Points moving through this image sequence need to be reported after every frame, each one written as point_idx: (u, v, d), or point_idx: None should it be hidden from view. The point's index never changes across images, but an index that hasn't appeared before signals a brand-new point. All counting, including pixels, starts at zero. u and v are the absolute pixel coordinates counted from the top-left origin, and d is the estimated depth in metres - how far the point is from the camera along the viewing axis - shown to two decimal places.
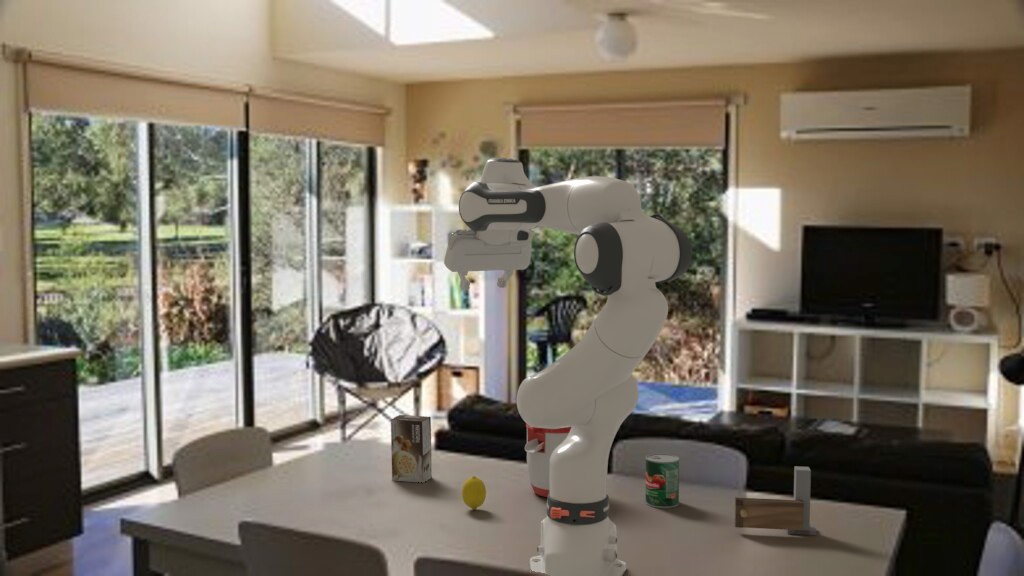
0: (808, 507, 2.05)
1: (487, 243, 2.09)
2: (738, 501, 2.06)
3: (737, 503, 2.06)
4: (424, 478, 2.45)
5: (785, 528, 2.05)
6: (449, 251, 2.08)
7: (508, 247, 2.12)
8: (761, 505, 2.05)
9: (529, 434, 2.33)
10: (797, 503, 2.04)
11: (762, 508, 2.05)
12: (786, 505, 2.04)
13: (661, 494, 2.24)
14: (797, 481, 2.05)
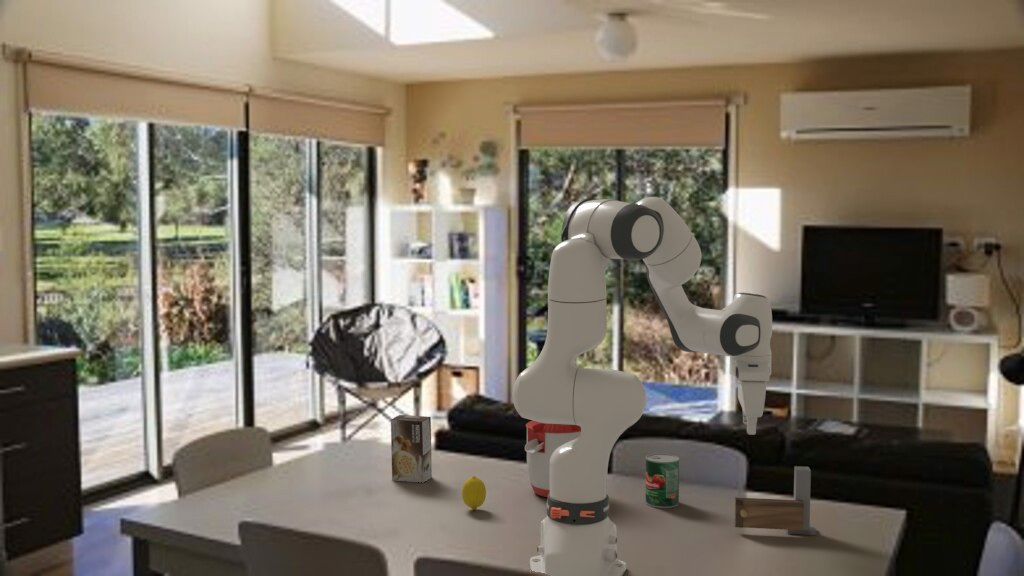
0: (808, 507, 2.05)
1: None
2: (738, 501, 2.06)
3: (737, 503, 2.06)
4: (424, 478, 2.45)
5: (785, 528, 2.05)
6: None
7: None
8: (761, 505, 2.05)
9: (529, 434, 2.33)
10: (797, 503, 2.04)
11: (762, 508, 2.05)
12: (786, 505, 2.04)
13: (661, 494, 2.24)
14: (797, 481, 2.05)
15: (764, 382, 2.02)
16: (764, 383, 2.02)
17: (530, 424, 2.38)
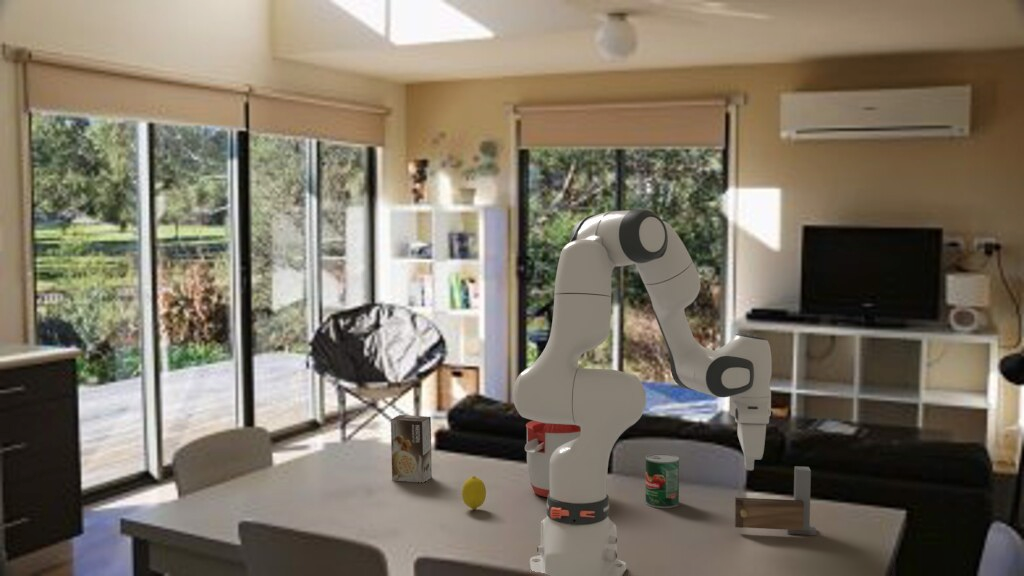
0: (808, 507, 2.05)
1: None
2: (738, 501, 2.06)
3: (737, 503, 2.06)
4: (424, 478, 2.45)
5: (785, 528, 2.05)
6: None
7: None
8: (761, 505, 2.05)
9: (529, 434, 2.33)
10: (797, 503, 2.04)
11: (762, 508, 2.05)
12: (786, 505, 2.04)
13: (661, 494, 2.24)
14: (797, 481, 2.05)
15: (764, 424, 2.03)
16: (764, 426, 2.03)
17: (530, 424, 2.38)
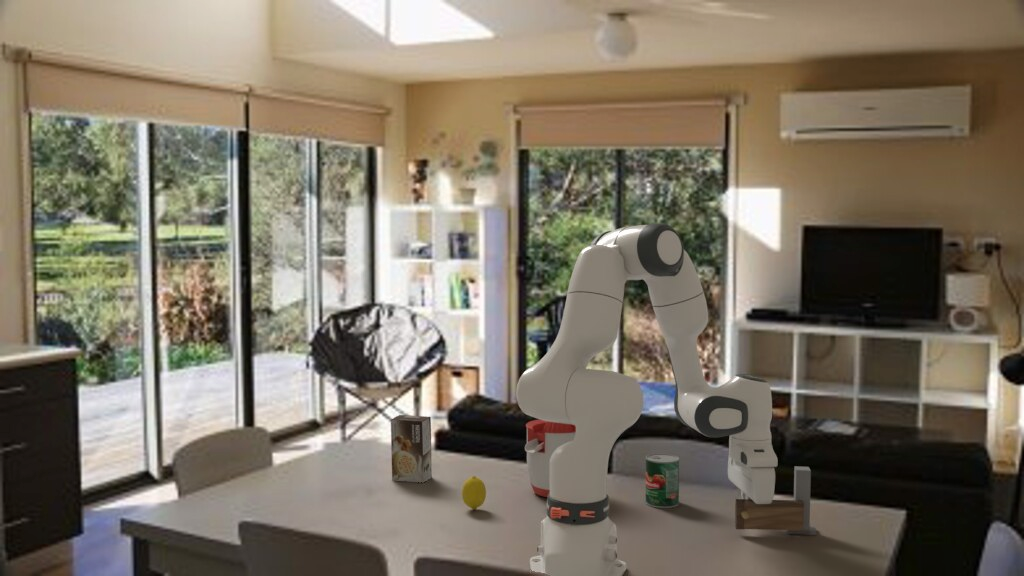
0: (808, 507, 2.05)
1: None
2: (739, 503, 2.05)
3: (738, 505, 2.05)
4: (424, 478, 2.45)
5: (786, 529, 2.04)
6: None
7: (746, 470, 2.04)
8: (762, 506, 2.04)
9: (529, 434, 2.33)
10: (797, 503, 2.04)
11: (763, 509, 2.04)
12: (787, 505, 2.04)
13: (661, 494, 2.24)
14: (797, 481, 2.05)
15: (772, 468, 2.00)
16: (773, 469, 2.00)
17: (530, 424, 2.38)
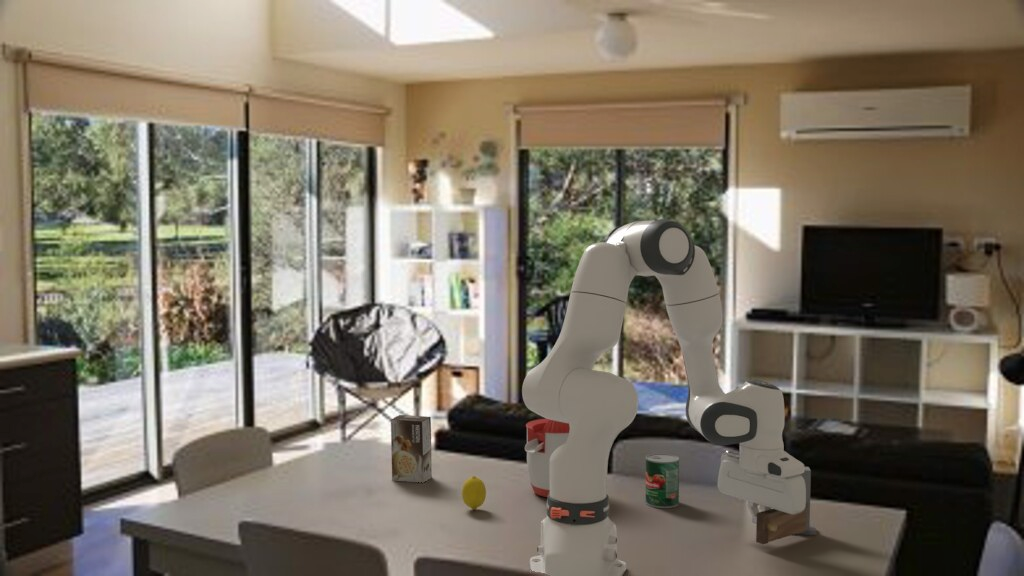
0: (808, 507, 2.05)
1: (745, 469, 2.00)
2: (765, 516, 1.96)
3: (764, 518, 1.96)
4: (424, 478, 2.45)
5: (795, 532, 2.02)
6: None
7: (769, 480, 1.96)
8: (780, 515, 1.99)
9: (529, 434, 2.33)
10: None
11: (780, 517, 1.99)
12: None
13: (661, 494, 2.24)
14: None
15: (799, 475, 1.95)
16: (801, 476, 1.95)
17: (530, 424, 2.38)
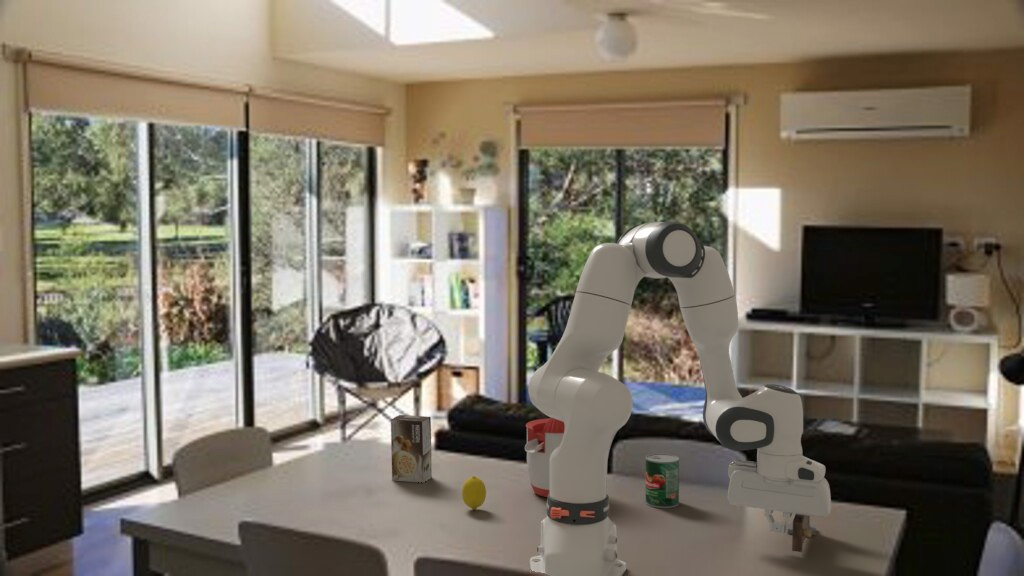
0: None
1: (765, 477, 1.94)
2: (802, 523, 1.91)
3: (802, 525, 1.91)
4: (424, 478, 2.45)
5: None
6: None
7: (795, 486, 1.92)
8: None
9: (529, 434, 2.33)
10: None
11: None
12: None
13: (661, 494, 2.24)
14: None
15: None
16: (823, 477, 1.93)
17: (530, 424, 2.38)
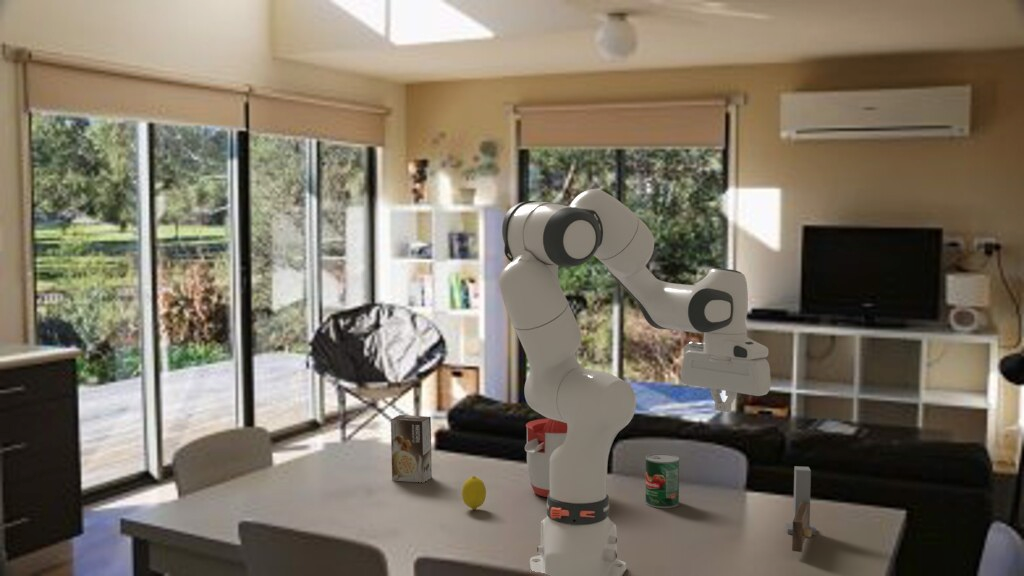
0: None
1: (709, 357, 2.02)
2: (802, 523, 1.91)
3: (802, 525, 1.91)
4: (424, 478, 2.45)
5: None
6: None
7: (734, 365, 1.98)
8: None
9: (529, 434, 2.33)
10: (808, 505, 2.03)
11: None
12: (807, 510, 2.01)
13: (661, 494, 2.24)
14: (797, 481, 2.05)
15: (764, 358, 1.97)
16: (765, 359, 1.97)
17: (530, 424, 2.38)
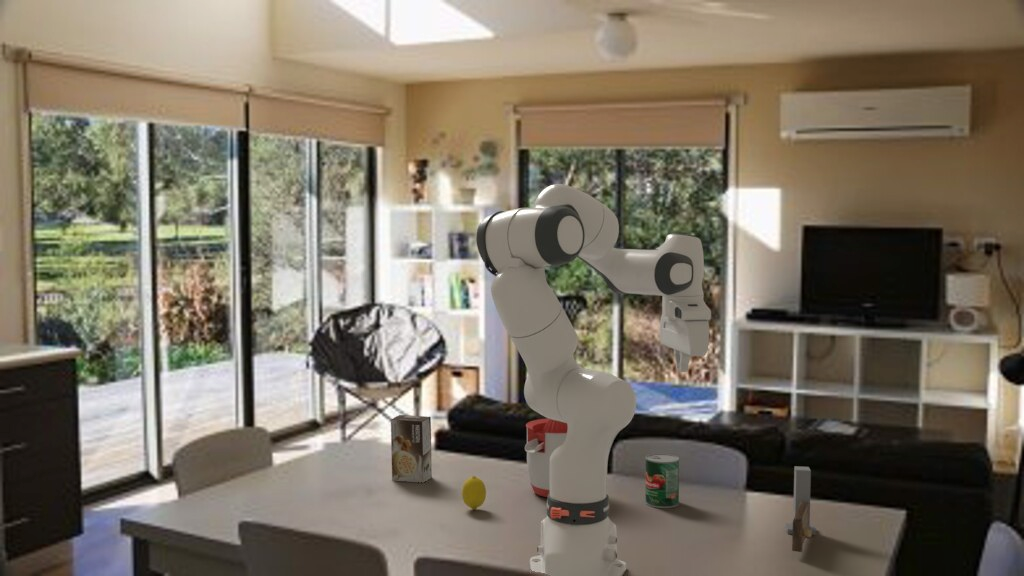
0: None
1: None
2: (802, 523, 1.91)
3: (802, 525, 1.91)
4: (424, 478, 2.45)
5: None
6: None
7: (680, 326, 2.07)
8: None
9: (529, 434, 2.33)
10: (808, 505, 2.03)
11: None
12: (807, 510, 2.01)
13: (661, 494, 2.24)
14: (797, 481, 2.05)
15: (706, 320, 2.03)
16: (706, 321, 2.03)
17: (530, 424, 2.38)
